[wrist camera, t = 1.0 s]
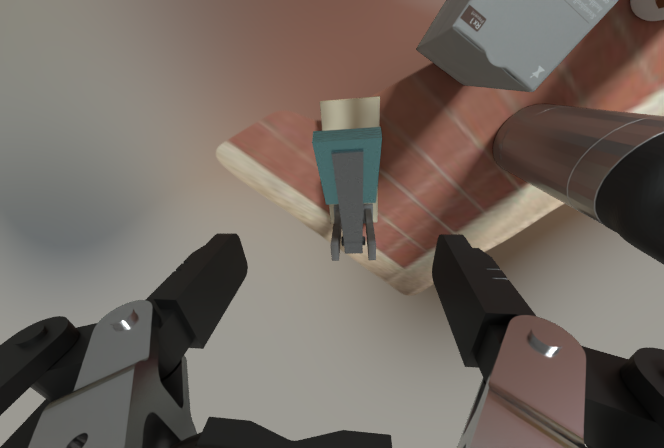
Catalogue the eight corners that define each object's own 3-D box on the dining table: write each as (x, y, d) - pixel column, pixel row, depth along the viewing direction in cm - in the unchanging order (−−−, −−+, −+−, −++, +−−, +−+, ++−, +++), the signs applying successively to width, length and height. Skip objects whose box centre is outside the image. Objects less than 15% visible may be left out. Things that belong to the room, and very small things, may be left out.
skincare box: (503, 33, 28) (643, -13, 15) (458, 92, 32) (537, 99, 18) (449, -14, 27) (550, -118, 13) (407, 53, 30) (453, 28, 16)
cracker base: (378, 96, 33) (391, 102, 22) (376, 217, 42) (384, 264, 31) (321, 101, 33) (305, 109, 22) (331, 219, 43) (323, 265, 32)
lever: (372, 112, 26) (382, 129, 16) (371, 242, 34) (377, 301, 25) (326, 116, 26) (311, 133, 17) (336, 243, 35) (330, 300, 26)
